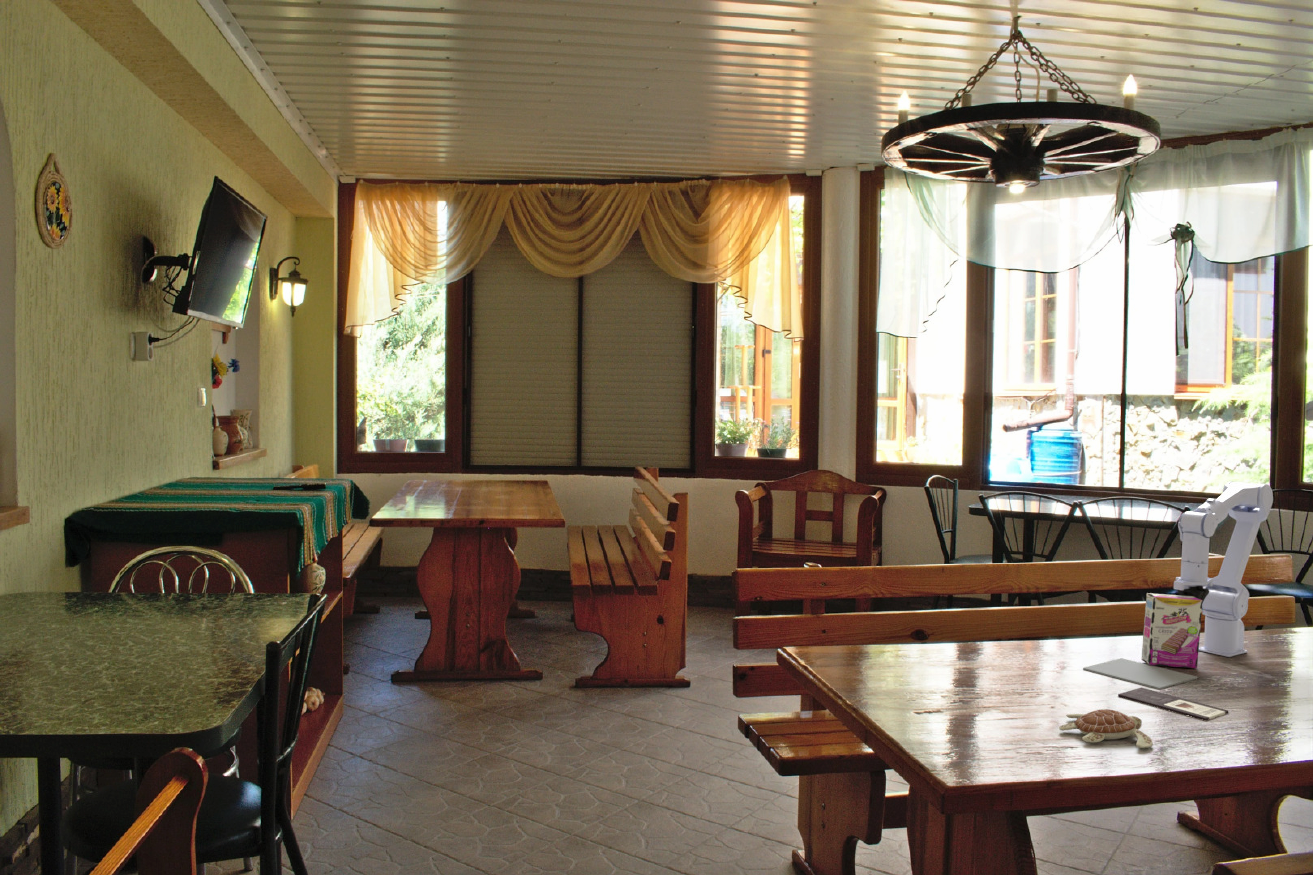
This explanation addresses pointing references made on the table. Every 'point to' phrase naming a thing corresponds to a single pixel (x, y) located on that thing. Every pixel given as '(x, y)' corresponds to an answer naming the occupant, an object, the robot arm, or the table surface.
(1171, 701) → the chocolate bar
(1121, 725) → the decorative turtle
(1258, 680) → the table surface
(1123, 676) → the rubber mat
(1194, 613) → the candy bar box
